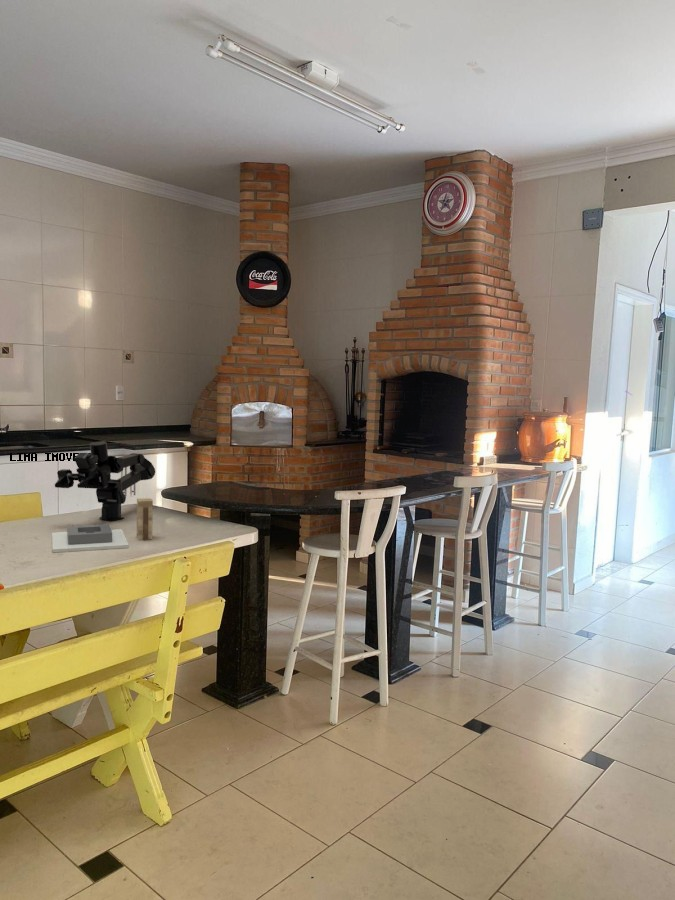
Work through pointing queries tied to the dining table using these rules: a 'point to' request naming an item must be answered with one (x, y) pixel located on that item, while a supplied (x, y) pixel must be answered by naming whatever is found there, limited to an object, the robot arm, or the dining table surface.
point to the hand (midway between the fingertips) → (66, 486)
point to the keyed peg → (144, 518)
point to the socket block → (88, 538)
